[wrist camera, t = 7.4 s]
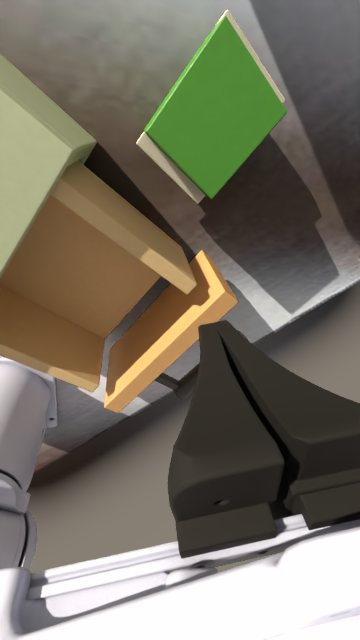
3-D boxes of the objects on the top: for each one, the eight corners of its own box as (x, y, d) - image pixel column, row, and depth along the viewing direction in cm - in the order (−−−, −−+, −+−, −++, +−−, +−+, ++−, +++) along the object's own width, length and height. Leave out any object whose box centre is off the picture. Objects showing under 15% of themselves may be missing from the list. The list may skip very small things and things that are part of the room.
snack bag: (216, 22, 13) (238, -6, 10) (269, 103, 15) (300, 97, 13) (135, 142, 16) (135, 145, 13) (191, 197, 18) (203, 210, 15)
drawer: (253, 294, 22) (287, 342, 17) (163, 376, 26) (171, 433, 21) (46, 114, 14) (-1, 106, 9) (-38, 275, 18) (-102, 330, 13)
